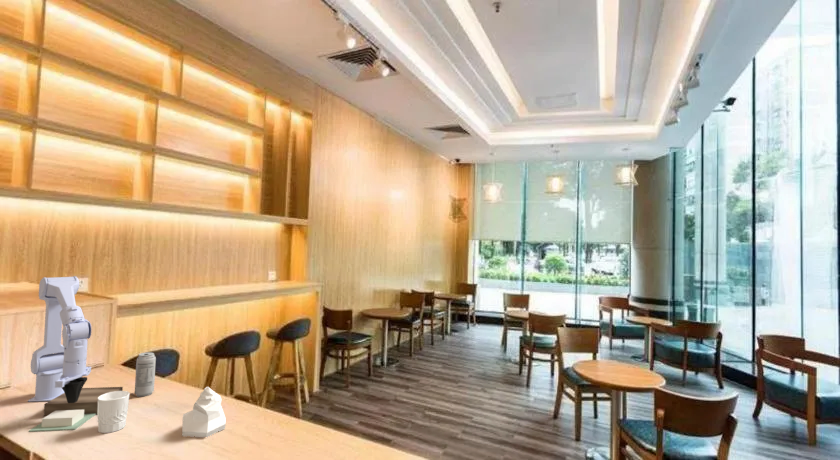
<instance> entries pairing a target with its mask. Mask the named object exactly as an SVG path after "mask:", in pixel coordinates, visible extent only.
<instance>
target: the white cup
mask: <svg viewBox="0 0 840 460" xmlns="http://www.w3.org/2000/svg"><path fill="white" fill-rule="evenodd" d="M129 400H130V391H127V390H122V391H114V392H109V393H105V394H103V395H101V396H99V397H98V414H97V425H98V426H97V427H98V428H97V429H98V430H97V431H98V433H101V434H108V433H109V434H110V433H113V432H118V431H120V430H123V429H124V428H125V427H126V424H127V423H126V422H127V418H128V417H127V416H128V411H129Z"/></svg>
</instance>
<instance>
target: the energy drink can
mask: <svg viewBox="0 0 840 460" xmlns="http://www.w3.org/2000/svg"><path fill="white" fill-rule="evenodd" d="M156 361H157V358H156V355H155V352H151V351H148V352H141V353H139V354H138V357H137V358H136V365H135V380H134V381H135V382H134V394H135V396H136V397H138V398H139V397H140V398H142V397H147V396H148V397H149V396H151V395H152V394H153V393H154V391H155V378H156V377H155V376H156Z"/></svg>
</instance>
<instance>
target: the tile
mask: <svg viewBox="0 0 840 460" xmlns="http://www.w3.org/2000/svg"><path fill="white" fill-rule="evenodd" d="M82 418H84V410H60V411H54V412H53V413H51V414H49V415H48V416H45V417H44V416H43V418H42V419H41V423H42V427H57V426H72V425H74V424H75V423H76V422H78V421H79V420H81V419H82Z"/></svg>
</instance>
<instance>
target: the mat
mask: <svg viewBox="0 0 840 460" xmlns="http://www.w3.org/2000/svg"><path fill="white" fill-rule="evenodd" d="M96 415H97V414H96V413H93V414H84V418H82V419H81V420H79V421H78V422H76V423H75V424H74V425H72V426H57V427H42V422H40V423H39V424H37V425H35V426H34V427H32V428H31V429H29V430H28V433H35V432H37V433H38V432H40V433H41V432H55V431H56V432H59V431H75V430H77V429H78V428H80V427H81V426H82V425H84V424H85V423H86V422H87V421H89V420H91V419H92V418H94V417H95V416H96Z"/></svg>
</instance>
